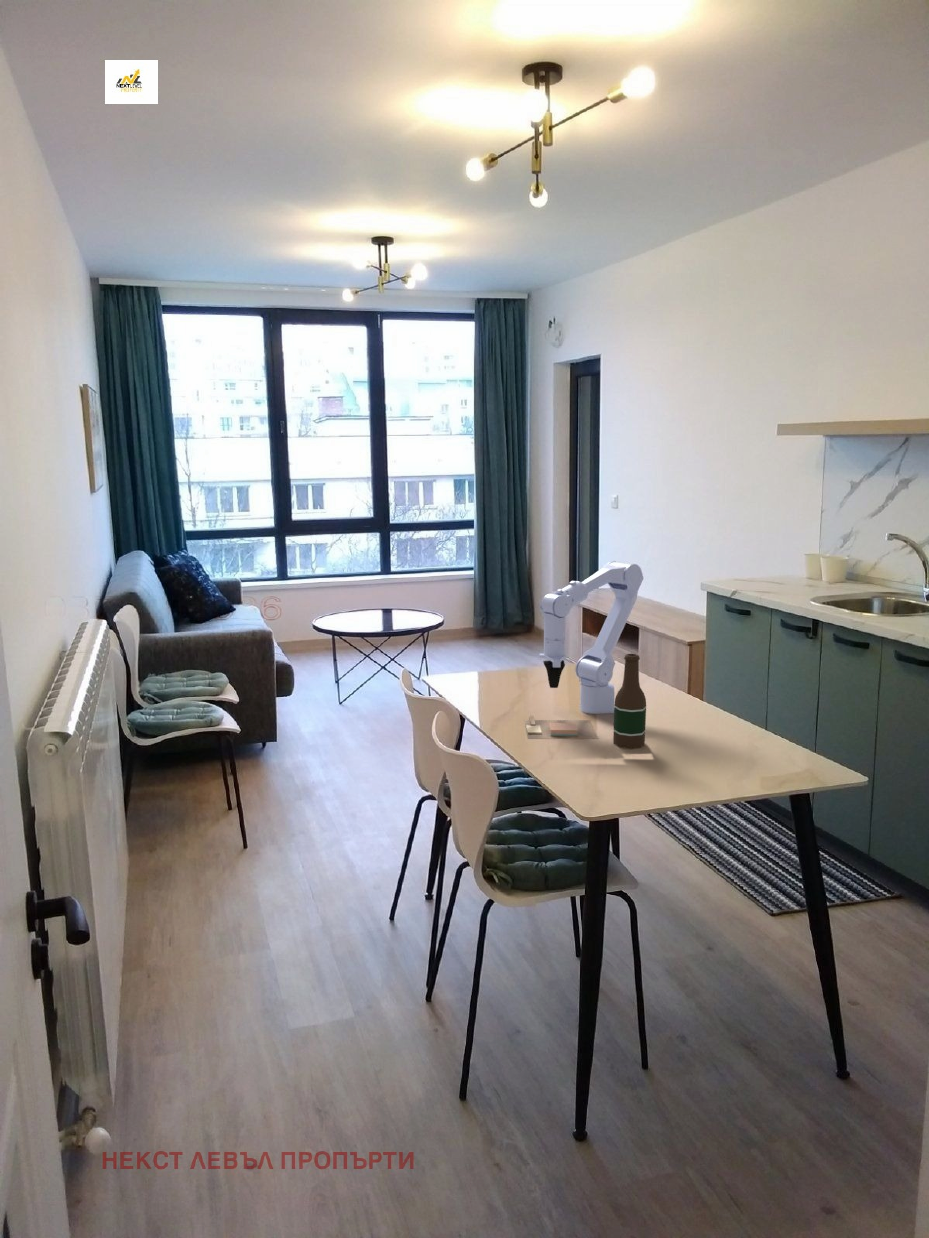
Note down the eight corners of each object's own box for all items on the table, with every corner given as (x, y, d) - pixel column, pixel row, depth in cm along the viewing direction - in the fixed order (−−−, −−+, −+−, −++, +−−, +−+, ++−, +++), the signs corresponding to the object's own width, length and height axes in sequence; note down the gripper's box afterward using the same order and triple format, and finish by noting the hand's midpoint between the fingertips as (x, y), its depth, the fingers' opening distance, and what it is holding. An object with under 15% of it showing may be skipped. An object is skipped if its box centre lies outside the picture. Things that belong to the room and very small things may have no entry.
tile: (575, 723, 235) (578, 729, 229) (575, 728, 235) (577, 735, 229) (548, 722, 235) (550, 729, 229) (548, 728, 235) (550, 735, 229)
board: (590, 724, 243) (590, 720, 243) (598, 743, 227) (598, 738, 227) (524, 724, 243) (524, 720, 243) (527, 742, 227) (527, 738, 227)
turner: (537, 718, 244) (537, 715, 244) (541, 734, 231) (541, 731, 230) (524, 718, 244) (524, 715, 244) (527, 734, 231) (527, 731, 230)
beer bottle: (606, 747, 224) (609, 654, 219) (626, 741, 229) (629, 649, 224) (630, 755, 218) (634, 659, 213) (651, 749, 223) (654, 655, 218)
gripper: (537, 633, 248) (536, 680, 250) (541, 644, 234) (541, 694, 236) (563, 633, 248) (562, 680, 250) (568, 644, 233) (567, 694, 236)
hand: (553, 687), depth 243 cm, fingers closed
